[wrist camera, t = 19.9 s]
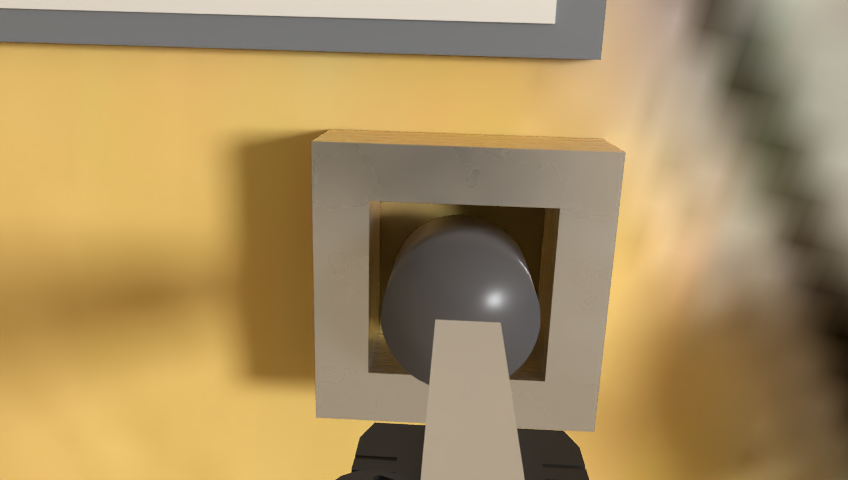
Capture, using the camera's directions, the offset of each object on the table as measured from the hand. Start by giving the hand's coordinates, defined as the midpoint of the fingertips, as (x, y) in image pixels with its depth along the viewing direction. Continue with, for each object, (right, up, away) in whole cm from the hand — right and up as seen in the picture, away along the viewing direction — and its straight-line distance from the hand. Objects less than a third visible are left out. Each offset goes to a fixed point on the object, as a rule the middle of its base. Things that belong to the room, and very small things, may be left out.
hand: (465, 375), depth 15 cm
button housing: (0, +2, +8) cm, 8 cm away
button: (0, +2, +6) cm, 6 cm away
